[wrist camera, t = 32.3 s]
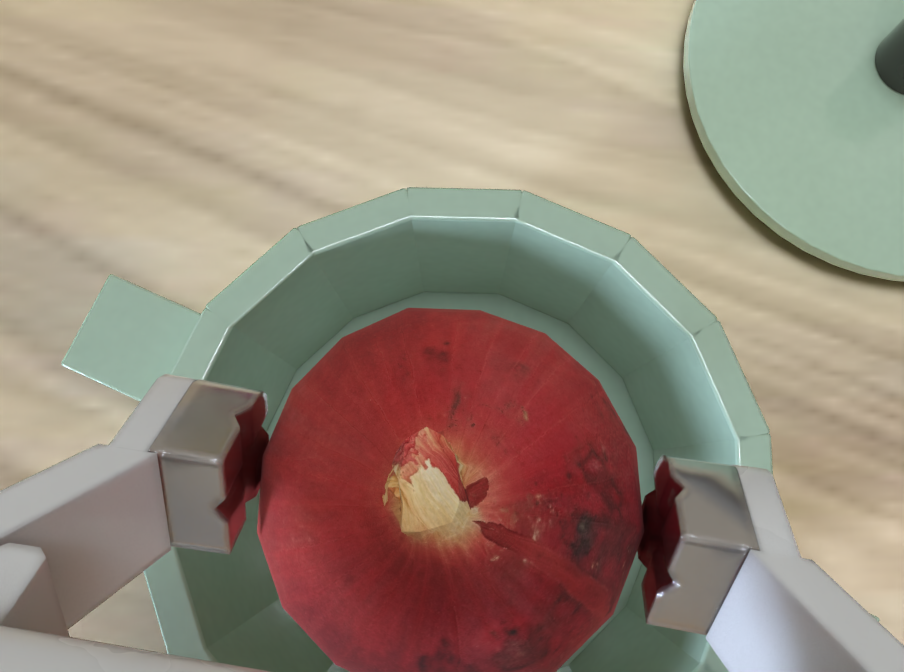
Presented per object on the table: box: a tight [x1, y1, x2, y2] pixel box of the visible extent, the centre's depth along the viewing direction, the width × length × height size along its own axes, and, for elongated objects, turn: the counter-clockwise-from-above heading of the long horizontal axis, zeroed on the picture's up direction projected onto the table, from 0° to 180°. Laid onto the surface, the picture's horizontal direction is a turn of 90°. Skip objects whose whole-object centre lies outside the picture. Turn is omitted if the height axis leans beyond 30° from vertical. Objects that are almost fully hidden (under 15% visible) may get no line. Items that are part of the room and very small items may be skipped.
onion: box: [257, 308, 644, 672], centre depth 11 cm, size 6×6×8 cm
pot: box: [61, 187, 879, 672], centre depth 20 cm, size 14×19×8 cm
